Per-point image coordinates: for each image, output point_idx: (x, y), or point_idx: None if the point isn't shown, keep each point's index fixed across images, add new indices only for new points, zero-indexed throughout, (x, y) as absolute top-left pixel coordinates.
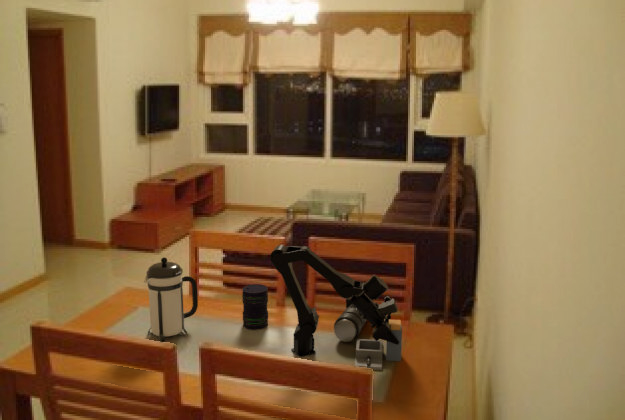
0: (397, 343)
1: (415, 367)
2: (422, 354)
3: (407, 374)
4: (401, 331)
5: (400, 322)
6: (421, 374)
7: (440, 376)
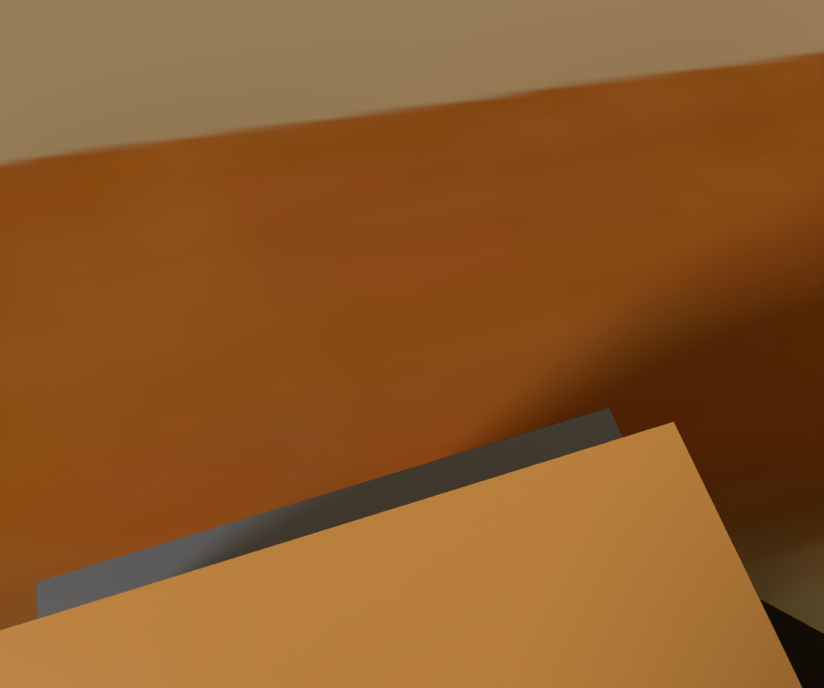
0: None
1: (559, 323)
2: (218, 333)
3: (763, 357)
4: (607, 436)
5: (330, 545)
6: (674, 237)
7: (612, 98)
